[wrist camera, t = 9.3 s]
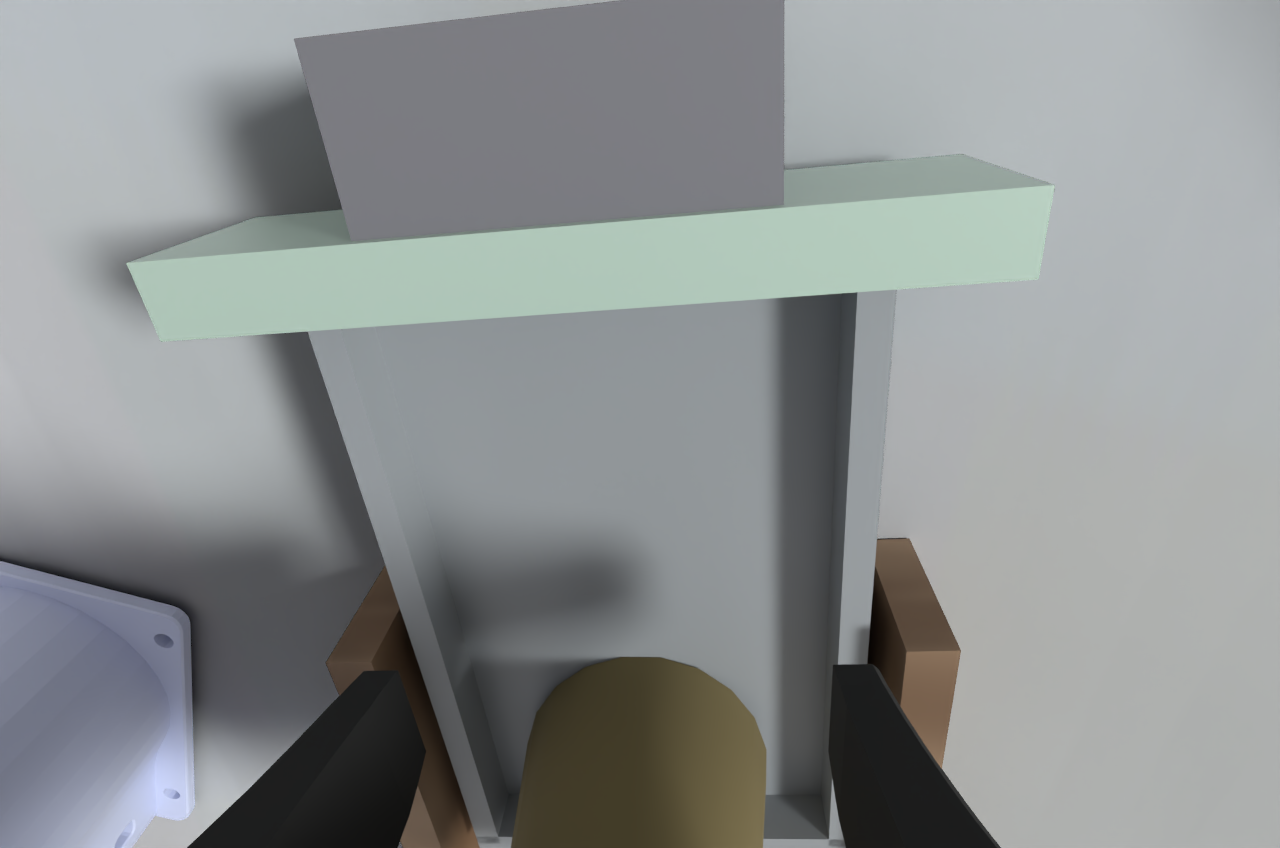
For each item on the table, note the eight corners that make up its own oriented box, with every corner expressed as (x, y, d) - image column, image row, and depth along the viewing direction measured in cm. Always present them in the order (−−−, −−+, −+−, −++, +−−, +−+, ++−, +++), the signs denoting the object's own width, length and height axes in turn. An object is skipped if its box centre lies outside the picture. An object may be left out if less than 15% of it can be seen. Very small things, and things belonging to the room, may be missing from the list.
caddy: (868, 925, 24) (895, 1055, 21) (508, 918, 25) (482, 1038, 22) (909, 538, 16) (960, 651, 13) (389, 557, 17) (325, 662, 14)
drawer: (890, 787, 19) (926, 919, 16) (451, 787, 20) (411, 909, 17) (982, -23, 10) (1097, -58, 7) (203, 65, 12) (40, 66, 9)
